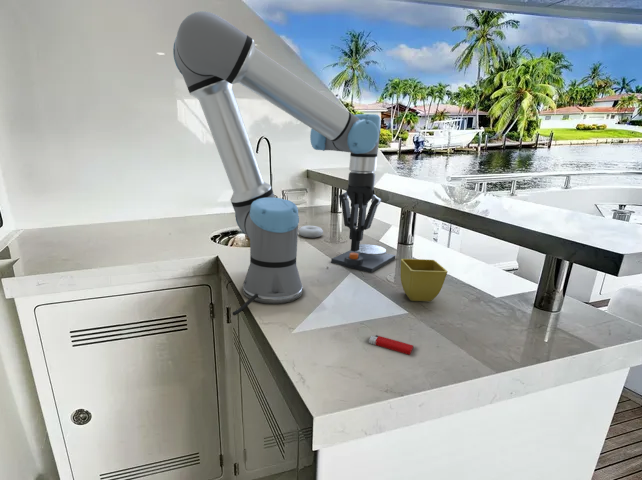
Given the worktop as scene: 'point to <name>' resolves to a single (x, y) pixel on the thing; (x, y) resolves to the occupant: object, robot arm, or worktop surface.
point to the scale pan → (371, 249)
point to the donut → (310, 231)
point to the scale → (363, 261)
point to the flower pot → (422, 278)
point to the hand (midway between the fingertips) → (354, 250)
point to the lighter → (391, 344)
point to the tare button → (353, 255)
